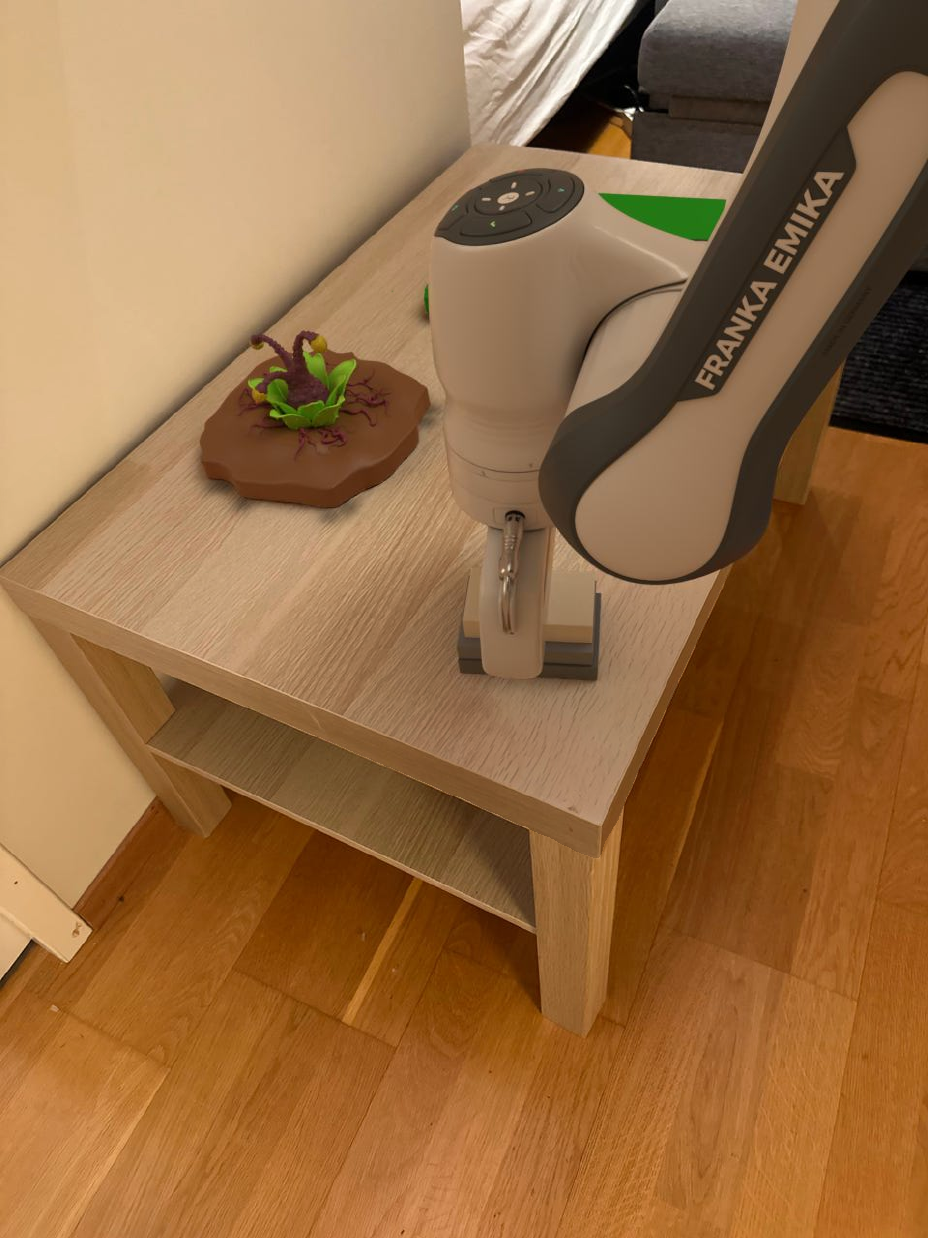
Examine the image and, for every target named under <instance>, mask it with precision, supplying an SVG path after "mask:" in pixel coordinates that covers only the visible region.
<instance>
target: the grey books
mask: <svg viewBox="0 0 928 1238" xmlns="http://www.w3.org/2000/svg"><path fill="white" fill-rule="evenodd" d="M469 578H470V574H469V575H468V577H467V583H466V588H465V595H464V596H465V597H464V600H463V605H462V606H463V607H462V612H461V618H460V625H459V631H458V637H457V642H456V650H457V656H458V659H457V660H458V662H457V663H458V667H459V673H460V674H475V675H477V674H478V675H488V674H487V673H486V672H485V671H484V669H483V665H482V654H481V641H480V638H467V637H465V633H464V627H463V614H464V608H465V602H466V596H467V590H468V584H469ZM597 582H598V581H597V579H595V594H594V613H593V632H592V643H572V642H551V641H546V642H545V653H544V662H543V668H542V671H541V673H540V674H539V675H538V676H536V677H535V678H548V679H549V678H550V679H565V680H566V679H567V680H568V679H570V680H585V681H587V680H588V681H597V680H599V659H600V657H599V656H600V636H601V635H600V633H601V632H600V631H601V615H602V593H601V592H597Z"/></svg>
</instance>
